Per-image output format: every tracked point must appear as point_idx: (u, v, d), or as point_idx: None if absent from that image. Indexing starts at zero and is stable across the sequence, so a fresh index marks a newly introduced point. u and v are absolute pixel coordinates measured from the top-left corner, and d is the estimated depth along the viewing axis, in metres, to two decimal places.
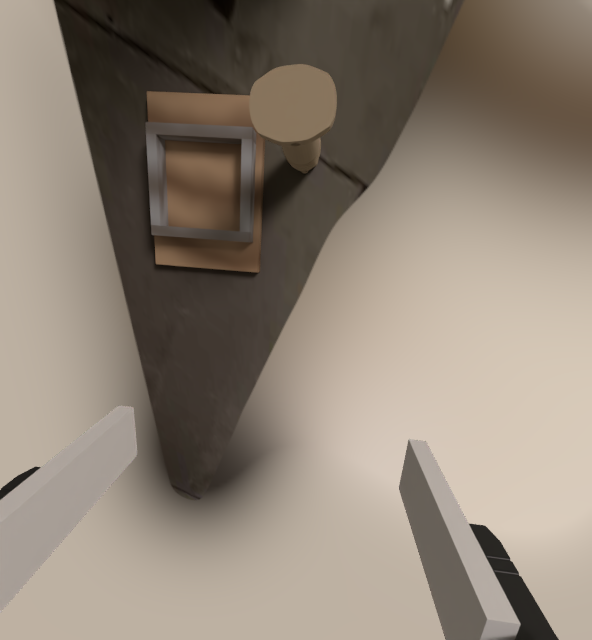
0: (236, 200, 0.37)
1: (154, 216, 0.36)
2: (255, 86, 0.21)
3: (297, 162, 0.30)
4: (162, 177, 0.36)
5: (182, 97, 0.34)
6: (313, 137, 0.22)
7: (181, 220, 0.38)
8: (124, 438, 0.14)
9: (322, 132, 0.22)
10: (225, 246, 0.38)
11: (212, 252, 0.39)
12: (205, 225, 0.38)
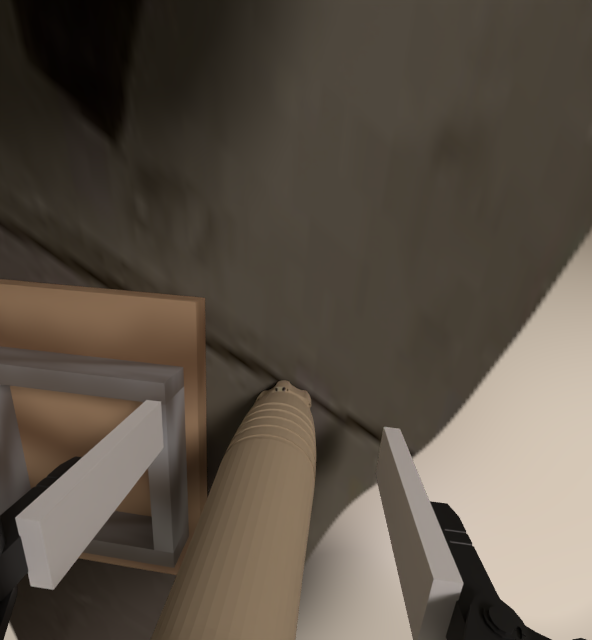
0: None
1: None
2: None
3: None
4: (2, 437, 0.18)
5: (28, 294, 0.16)
6: None
7: None
8: (153, 431, 0.14)
9: None
10: None
11: None
12: None
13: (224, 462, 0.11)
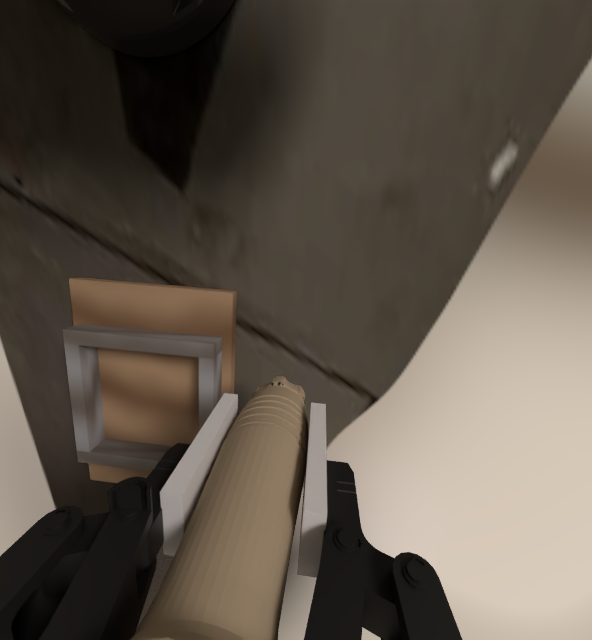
0: (196, 413, 0.27)
1: (80, 441, 0.26)
2: None
3: None
4: (92, 388, 0.26)
5: (118, 288, 0.24)
6: None
7: (122, 432, 0.28)
8: (233, 421, 0.15)
9: None
10: None
11: None
12: (155, 440, 0.28)
13: (224, 446, 0.12)
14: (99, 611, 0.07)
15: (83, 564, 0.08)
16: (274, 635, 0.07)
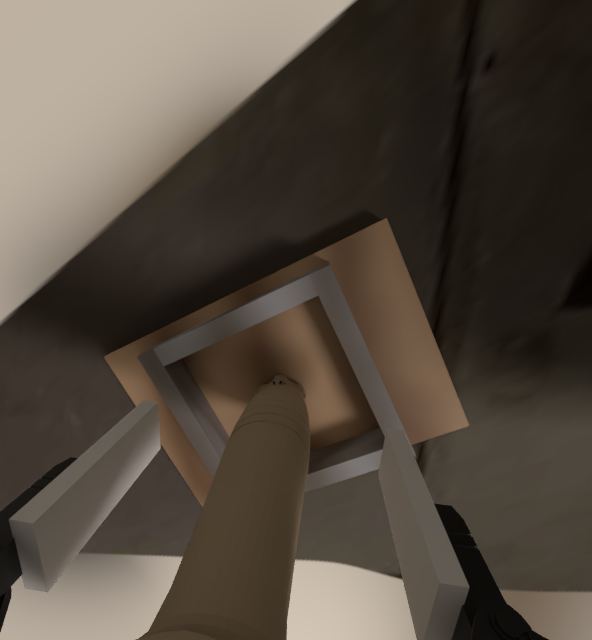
0: None
1: (171, 349, 0.17)
2: None
3: None
4: None
5: (407, 292, 0.17)
6: None
7: (203, 372, 0.19)
8: (150, 431, 0.14)
9: None
10: None
11: (188, 440, 0.21)
12: (221, 413, 0.20)
13: (229, 445, 0.13)
14: None
15: None
16: (284, 626, 0.07)
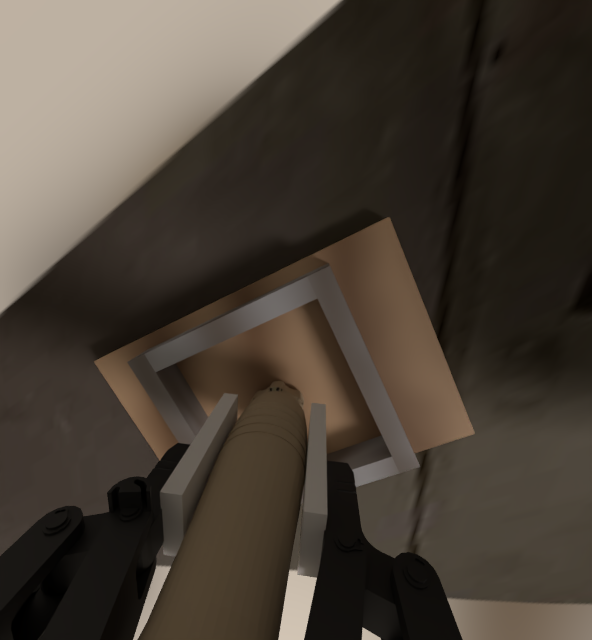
0: None
1: (163, 354, 0.16)
2: None
3: None
4: None
5: (410, 295, 0.16)
6: None
7: (198, 377, 0.19)
8: (233, 421, 0.15)
9: None
10: None
11: None
12: None
13: (219, 457, 0.12)
14: (99, 611, 0.07)
15: (82, 565, 0.08)
16: None
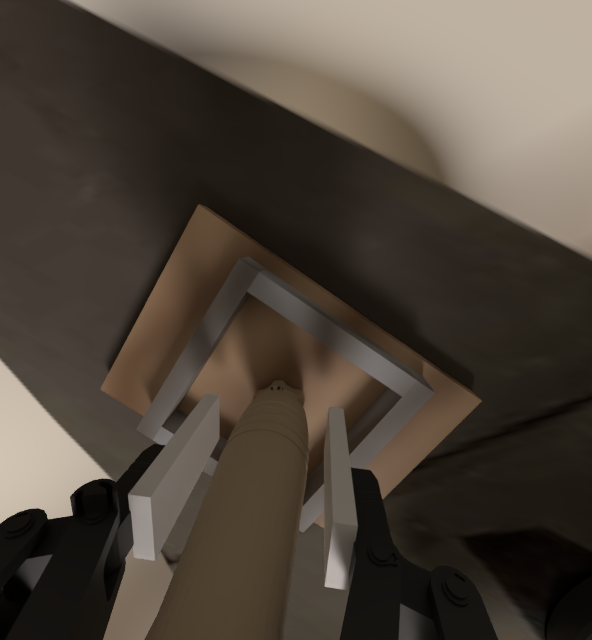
0: (231, 426, 0.20)
1: (270, 291, 0.15)
2: None
3: None
4: None
5: (427, 445, 0.19)
6: None
7: (251, 318, 0.18)
8: (214, 422, 0.15)
9: None
10: (167, 365, 0.19)
11: (167, 336, 0.18)
12: (219, 353, 0.18)
13: (223, 455, 0.12)
14: (65, 614, 0.07)
15: (45, 571, 0.07)
16: None
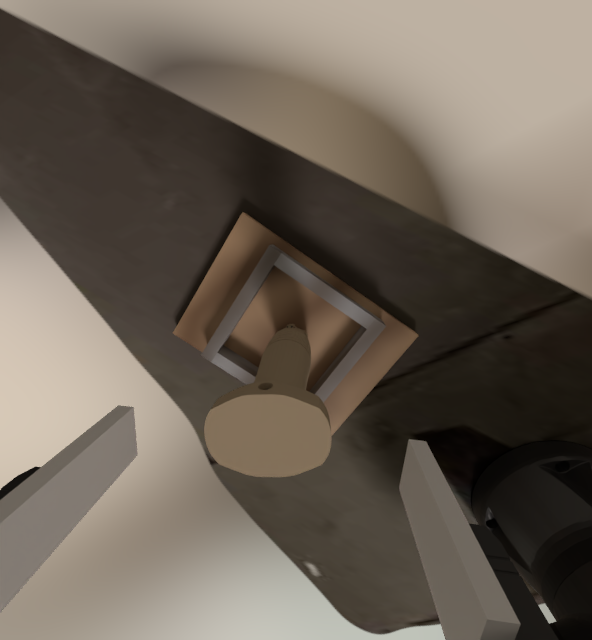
0: (259, 357, 0.30)
1: (287, 264, 0.25)
2: (212, 414, 0.15)
3: None
4: None
5: (385, 366, 0.29)
6: None
7: (274, 283, 0.28)
8: (124, 438, 0.14)
9: None
10: (218, 315, 0.29)
11: (219, 296, 0.29)
12: (253, 307, 0.29)
13: (266, 351, 0.22)
14: None
15: None
16: None
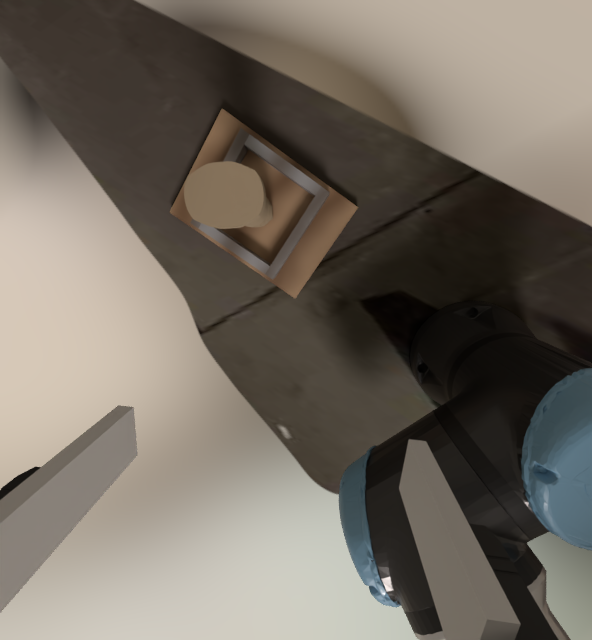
0: (236, 230, 0.38)
1: (254, 143, 0.34)
2: (188, 179, 0.23)
3: None
4: (285, 175, 0.35)
5: (334, 235, 0.37)
6: (244, 224, 0.24)
7: None
8: (124, 438, 0.14)
9: (253, 219, 0.24)
10: None
11: None
12: None
13: None
14: None
15: None
16: None
